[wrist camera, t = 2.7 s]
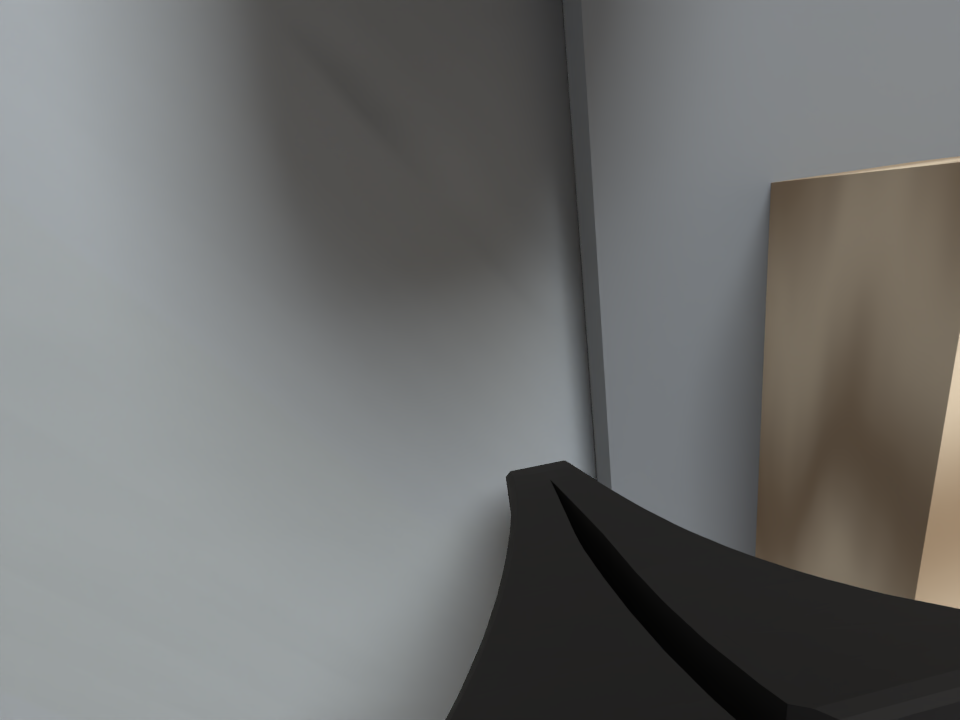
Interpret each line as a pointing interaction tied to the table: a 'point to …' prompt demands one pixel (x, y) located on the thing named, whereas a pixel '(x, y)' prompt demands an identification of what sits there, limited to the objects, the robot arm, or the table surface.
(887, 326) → the t block
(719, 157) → the board
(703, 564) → the robot arm
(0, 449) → the table surface
